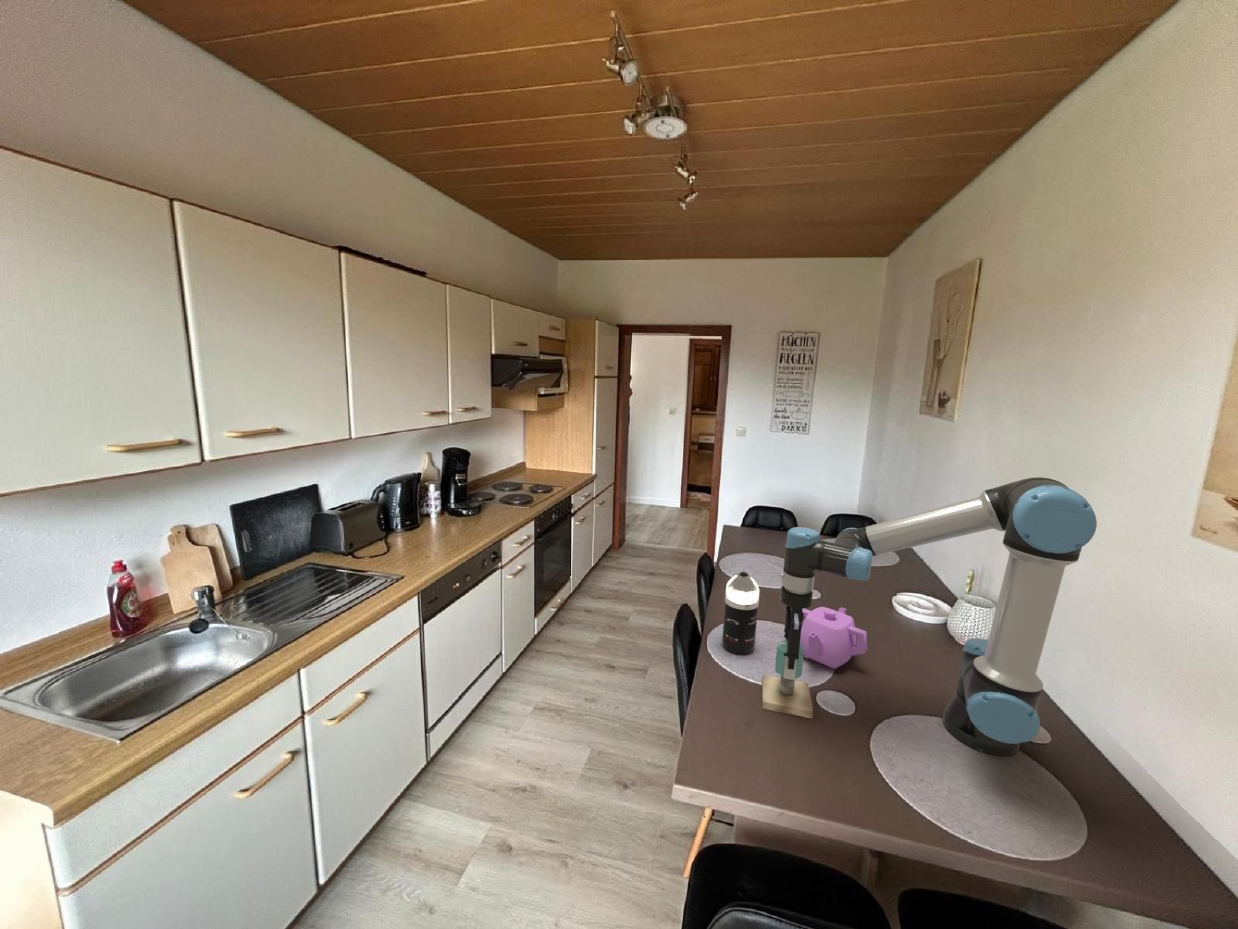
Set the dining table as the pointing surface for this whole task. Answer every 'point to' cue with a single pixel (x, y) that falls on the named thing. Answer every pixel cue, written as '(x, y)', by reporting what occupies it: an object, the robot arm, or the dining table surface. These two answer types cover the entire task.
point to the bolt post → (786, 696)
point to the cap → (781, 659)
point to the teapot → (831, 636)
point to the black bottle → (740, 614)
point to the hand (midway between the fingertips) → (788, 670)
